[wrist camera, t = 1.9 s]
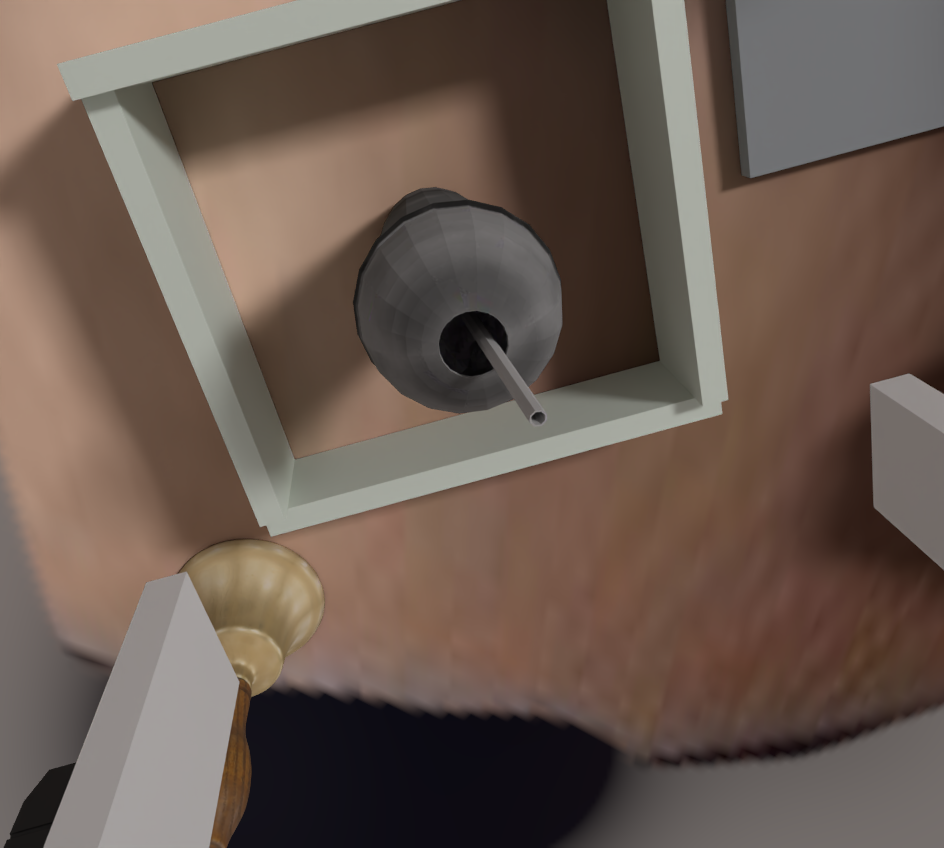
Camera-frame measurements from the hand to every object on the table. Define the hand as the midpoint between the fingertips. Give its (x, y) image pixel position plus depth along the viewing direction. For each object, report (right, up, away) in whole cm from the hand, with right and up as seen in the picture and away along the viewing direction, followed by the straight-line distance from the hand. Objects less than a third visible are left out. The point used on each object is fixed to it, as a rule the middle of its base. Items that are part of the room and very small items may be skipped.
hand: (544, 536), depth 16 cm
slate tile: (+16, +21, +22) cm, 34 cm away
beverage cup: (-3, +11, +24) cm, 26 cm away
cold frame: (-3, +11, +23) cm, 26 cm away
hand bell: (-14, -8, +31) cm, 35 cm away
